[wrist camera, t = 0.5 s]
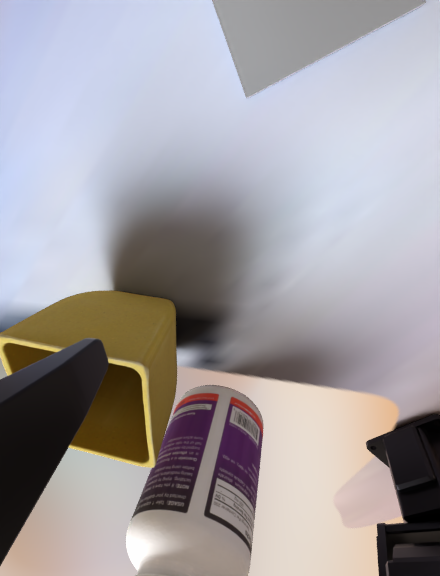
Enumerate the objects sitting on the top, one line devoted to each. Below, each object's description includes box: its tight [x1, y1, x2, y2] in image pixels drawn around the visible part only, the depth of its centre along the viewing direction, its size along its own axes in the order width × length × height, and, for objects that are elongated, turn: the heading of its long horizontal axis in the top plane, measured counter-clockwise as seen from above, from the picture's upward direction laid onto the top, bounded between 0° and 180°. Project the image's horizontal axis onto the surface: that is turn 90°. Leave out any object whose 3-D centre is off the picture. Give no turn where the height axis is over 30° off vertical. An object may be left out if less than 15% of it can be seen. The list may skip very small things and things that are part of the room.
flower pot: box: [0, 291, 177, 468], centre depth 22 cm, size 9×9×9 cm
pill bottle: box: [126, 385, 263, 576], centre depth 23 cm, size 8×8×14 cm
